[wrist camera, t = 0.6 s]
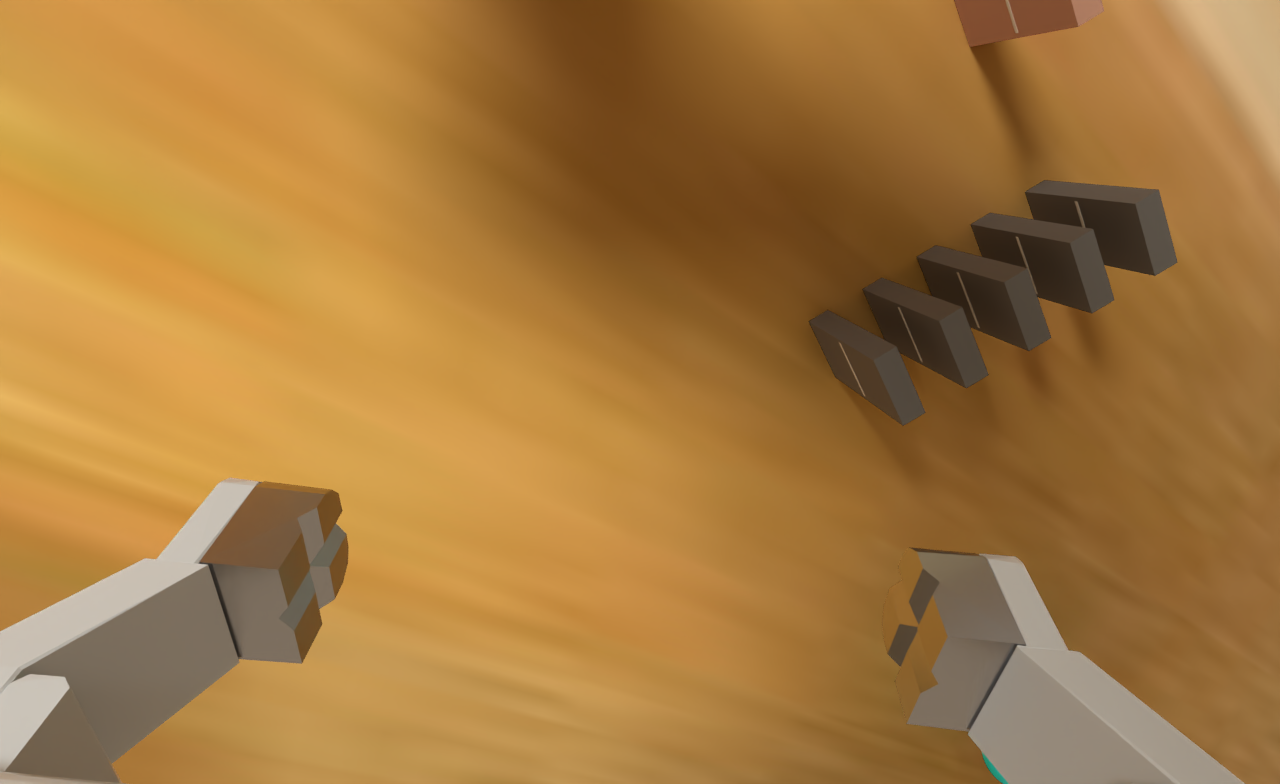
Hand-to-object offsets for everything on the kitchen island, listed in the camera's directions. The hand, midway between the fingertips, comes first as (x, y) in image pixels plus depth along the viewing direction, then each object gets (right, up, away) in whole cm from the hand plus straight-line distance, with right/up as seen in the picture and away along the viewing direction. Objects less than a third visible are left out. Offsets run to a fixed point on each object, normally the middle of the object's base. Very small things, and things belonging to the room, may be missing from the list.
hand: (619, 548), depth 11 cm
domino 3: (+22, +28, +38) cm, 52 cm away
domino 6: (+30, +15, +44) cm, 55 cm away
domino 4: (+26, +13, +44) cm, 52 cm away
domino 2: (+18, +8, +44) cm, 48 cm away
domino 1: (+14, +6, +44) cm, 47 cm away
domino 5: (+22, +10, +44) cm, 50 cm away
